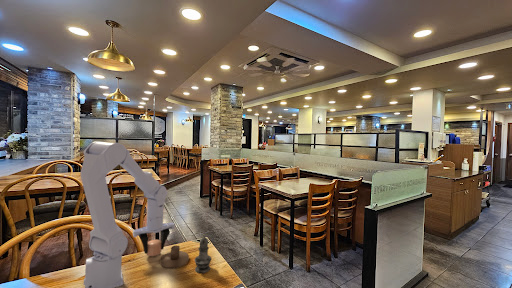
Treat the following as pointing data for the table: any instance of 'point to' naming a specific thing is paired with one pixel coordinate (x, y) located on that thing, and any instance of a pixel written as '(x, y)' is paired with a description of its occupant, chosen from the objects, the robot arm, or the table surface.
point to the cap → (154, 247)
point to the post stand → (174, 258)
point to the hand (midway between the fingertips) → (153, 250)
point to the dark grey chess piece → (203, 257)
